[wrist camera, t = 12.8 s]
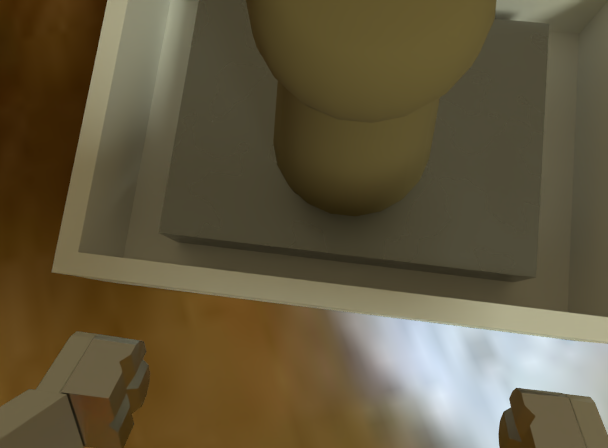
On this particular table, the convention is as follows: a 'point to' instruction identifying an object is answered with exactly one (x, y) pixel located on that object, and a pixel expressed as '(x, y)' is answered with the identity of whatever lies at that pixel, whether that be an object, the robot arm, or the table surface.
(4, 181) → the table surface
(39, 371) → the table surface
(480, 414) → the table surface
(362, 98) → the cork
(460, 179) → the tin box
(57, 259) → the tote
